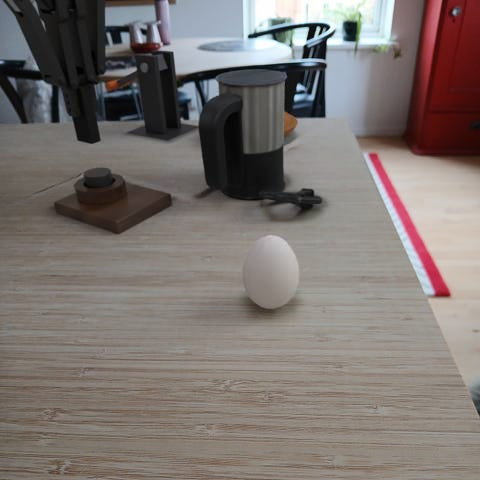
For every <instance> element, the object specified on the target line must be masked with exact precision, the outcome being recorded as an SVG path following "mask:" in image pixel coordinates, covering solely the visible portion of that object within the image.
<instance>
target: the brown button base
mask: <svg viewBox="0 0 480 480" xmlns="http://www.w3.org/2000/svg"><path fill="white" fill-rule="evenodd" d="M111 173H112V178H113V184H112V185H109V186H107V187H102V188H87V187H86V184H85V180H84V177H81V178H78V179H77V180H76V182H75V183H74V184H73V188H74V192H73V193H71V194H69V195H66V196H64V197H62V198H60V199H57V200H55V201H53V206H54V209H55V213H56V214H57V215H59V216H63V217H65V218H68V219H72V220H75V221H78V222H81V223H83V224H87V225H90V226H92V227H96V228H99V229H102V230H105V231H107V232H111V233H113V234H116V235H121V234H122V233H124V232H126V231H128V230H130V229H131V228H134V227H136V226H137V225H139V224H140V223H143V222H144V221H146V220H148V219H150V218H152V217H153V216H155V215H158V214H159V213H160V212H163V211H164V210H166V209H168V208H170V207H172V206H173V200H172V194H171V193H170V192H165V191H162V190H158V189H153V188H150V187H146V186H143V185H138V184H135V183H130V182H126V180H125V179H126V178H124V177H123V175H122V174H121V175H120V174H117V173H114V172H111Z"/></svg>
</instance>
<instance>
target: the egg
mask: <svg viewBox="0 0 480 480" xmlns="http://www.w3.org/2000/svg"><path fill="white" fill-rule="evenodd" d="M242 265H243V266H242V284H243V286H244V287H243V288H244V290H245V292H246V294H247V295H248V298H249V299H250V300H251V301H252V302H253V303H254V304H256V306H259V307H260V308H263V309H266V310H267V309H268V310H276V309H279V308H281V307H284V306H285V305H287V303H289V302H290V301H291V300H292V298H293V296H294V295H295V294H296V292H297V289H298V287H299V284H300V283H299V282H300V266H299V262H298V258H297V256H296V254H295V252H294V250H293V248H292V247H291V246H290V244H289V243H288V242H287V241H286V240H285V239H283V238H282V237H279V236H277V235H274V234H273V235H272V234H269V235H268V234H267V235H264V236H262V237H260V238H259V239H257V240H256V241H255V242H254V243H253V244H252V246H251V247H250V248H249V250H248V251H247V253H246V256H245V258H244V261H243V264H242Z"/></svg>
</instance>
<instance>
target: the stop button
mask: <svg viewBox="0 0 480 480" xmlns="http://www.w3.org/2000/svg"><path fill="white" fill-rule="evenodd" d="M112 173H113V172H112V170H111V168H108V167H103V166H102V167H101V166H100V167H93V168H89V169H87V170H85V171H84V172H83V178H84V180H85V184H86V187H87V188H102V187H107V186H109V185H112V184H113V178H112Z"/></svg>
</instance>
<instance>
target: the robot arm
mask: <svg viewBox="0 0 480 480" xmlns="http://www.w3.org/2000/svg"><path fill="white" fill-rule="evenodd" d="M2 2H3V3H4V4H5V5H6V6H7V8H8V9H9V10H10V11H11V13H12V14H13V15H14V18H15V19H16V21H17V24H18V26H19V28H20V30H21V33H22V35H23V37H24V39H25V40H24V41H26V44H27V46H28V49H29V51H30V53H31V55H32V57H33V60H34V62H35V65H36V67H37V69H38V71H39V73H40V75H41V78H42V80H43V82H44V83H45V84H47V85H51V86H56V87H59V88H60V89H61V93H62V97H63V101H64V106H65V111H66V113H67V115H68V117H71V118H72V122H73V127H74V131H75V137H76V140H77V141H78V142H81V143H86V144H90V145H94V144H96V143H99V142H101V141H102V139H101V134H100V129H99V124H98V123H99V122H98V119H97V114H96V112H98V110H99V104H98V98H97V93H96V87H95V86H98V85H99V84H100V82H101V78H100V76H104V75H105V74H106V72H107V71H106V69H107V68H106V66H107V65H106V60H107V59H106V3H107V0H2ZM34 3H36V6H37V9H36V7H35V5H34Z"/></svg>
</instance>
